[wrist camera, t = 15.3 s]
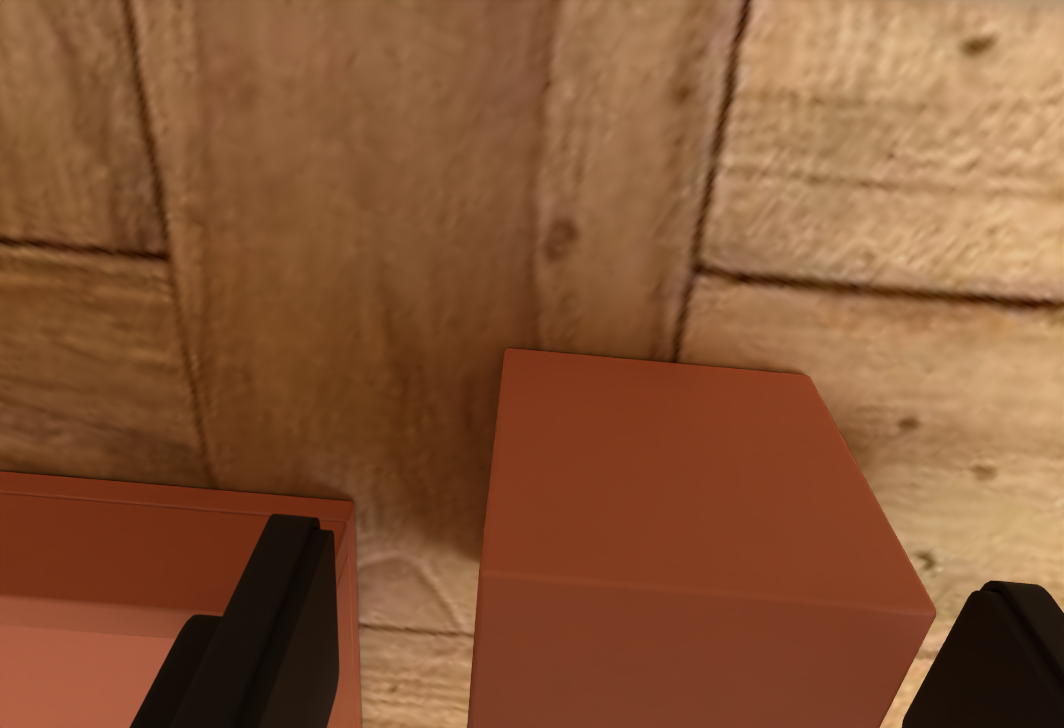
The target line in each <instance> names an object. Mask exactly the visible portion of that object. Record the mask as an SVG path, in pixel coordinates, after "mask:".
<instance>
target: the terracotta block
mask: <svg viewBox="0 0 1064 728" xmlns="http://www.w3.org/2000/svg"><path fill="white" fill-rule="evenodd" d="M935 617H936V609H935V606H934V604H933V603H932V601H931V599H930V597H929V595H928V593H927V592H926V590H925V588H924V586H923V584H922V582H921V580H920V579H919V577H918V575H917V573H916V571H915V569H914V568H913V566H912V564H911V562H910V560H909V558H908V557H907V555H906V553H905V551H904V549H903V547H902V546H901V544H900V542H899V540H898V538H897V536H896V535H895V533H894V531H893V529H892V527H891V525H890V524H889V522H888V520H887V518H886V516H885V514H884V512H883V511H882V509H881V507H880V505H879V503H878V501H877V500H876V498H875V496H874V494H873V492H872V490H871V489H870V487H869V485H868V483H867V481H866V479H865V478H864V476H863V474H862V472H861V470H860V468H859V467H858V465H857V463H856V461H855V459H854V457H853V455H852V454H851V452H850V450H849V448H848V446H847V444H846V443H845V441H844V439H843V437H842V435H841V433H840V432H839V430H838V428H837V426H836V424H835V422H834V421H833V419H832V417H831V415H830V413H829V411H828V410H827V408H826V406H825V404H824V402H823V400H822V399H821V397H820V395H819V393H818V391H817V389H816V387H815V386H814V384H813V382H812V380H811V378H810V377H809V376H806V375H800V374H789V373H778V372H767V371H756V370H745V369H734V368H723V367H712V366H701V365H690V364H679V363H668V362H657V361H646V360H635V359H624V358H613V357H602V356H591V355H580V354H569V353H558V352H547V351H537V350H526V349H515V348H508V349H506V351H505V352H504V359H503V367H502V376H501V385H500V394H499V403H498V411H497V420H496V429H495V438H494V446H493V455H492V464H491V473H490V482H489V490H488V499H487V508H486V517H485V525H484V534H483V543H482V552H481V560H480V569H479V580H478V593H477V606H476V619H475V632H474V645H473V658H472V672H471V685H470V698H469V711H468V724H467V728H879V727H880V725H881V723H882V721H883V719H884V717H885V715H886V713H887V711H888V710H889V708H890V706H891V704H892V702H893V700H894V698H895V696H896V694H897V692H898V690H899V688H900V686H901V684H902V682H903V680H904V678H905V676H906V674H907V672H908V670H909V668H910V666H911V664H912V662H913V660H914V658H915V656H916V654H917V652H918V650H919V648H920V646H921V644H922V642H923V640H924V638H925V636H926V634H927V633H928V631H929V629H930V627H931V625H932V623H933V621H934V619H935Z"/></svg>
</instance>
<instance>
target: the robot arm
mask: <svg viewBox="0 0 1064 728" xmlns="http://www.w3.org/2000/svg"><path fill="white" fill-rule="evenodd" d="M338 681H339V641H338V616H337V591H336V565H335V540H334V532H333V531H332V530H322V529H321V528H320V521H319V519H318V518H317V517H308V516H297V515H286V514H275V513H274V514H272V515H271V516H270V518H269V519H268V521H267V523H266V525H265V527H264V529H263V531H262V533H261V536H260V538H259V540H258V542H257V544H256V546H255V548H254V550H253V552H252V555H251V557H250V559H249V561H248V563H247V565H246V567H245V569H244V571H243V574H242V576H241V578H240V580H239V582H238V584H237V586H236V588H235V590H234V593H233V595H232V597H231V599H230V601H229V603H228V605H227V607H226V609H225V612H224V614H223V616H213V615H202V614H197V615H193V616H192V617H191V618H190V619H188V620H187V621H186V623H185V624H184V626H183V627H182V629H181V631H180V632H179V634H178V636H177V638H176V640H175V642H174V643H173V645H172V647H171V649H170V651H169V653H168V655H167V657H166V659H165V661H164V663H163V664H162V666H161V668H160V670H159V672H158V674H157V676H156V678H155V680H154V682H153V684H152V686H151V687H150V689H149V691H148V693H147V695H146V697H145V699H144V701H143V703H142V705H141V707H140V708H139V710H138V712H137V714H136V716H135V718H134V720H133V722H132V724H131V726H130V728H327V725H328V722H329V718H330V715H331V711H332V708H333V704H334V701H335V697H336V692H337V687H338ZM902 728H1064V613H1063V611H1062V610H1061V609H1060V607H1059V606H1058V605H1057V603H1056V602H1055V600H1054V599H1053V598H1052V596H1051V595H1050V594H1049V593H1048V592H1047V591H1046V590H1045V589H1044V588H1043V587H1041V586H1039V585H1036V584H1025V583H1015V582H1004V581H989V582H987V583H985V584H984V586H983V587H982V588H981V589H980V591H974V592H972V593H971V595H970V596H969V597H968V599H967V601H966V603H965V605H964V607H963V608H962V610H961V612H960V614H959V616H958V618H957V620H956V621H955V623H954V625H953V627H952V629H951V631H950V633H949V634H948V636H947V638H946V640H945V642H944V644H943V646H942V648H941V649H940V651H939V653H938V655H937V657H936V659H935V661H934V662H933V664H932V666H931V668H930V670H929V672H928V674H927V676H926V677H925V679H924V681H923V683H922V685H921V687H920V689H919V690H918V692H917V694H916V696H915V698H914V700H913V702H912V704H911V705H910V707H909V709H908V711H907V713H906V715H905V717H904V719H903V723H902Z"/></svg>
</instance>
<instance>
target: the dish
mask: <svg viewBox="0 0 1064 728" xmlns="http://www.w3.org/2000/svg"><path fill="white" fill-rule="evenodd" d="M274 513H275V514H286V515H297V516H308V517H317V518H318V519H319V521H320V528H321V529H322V530H332V531H333V532H334V540H335V565H336V591H337V616H338V641H339V681H338V687H337V692H336V697H335V701H334V704H333V708H332V711H331V715H330V718H329V722H328V725H327V728H362V714H361V683H360V653H359V623H358V593H357V563H356V533H355V505H354V502H352V501H341V500H330V499H318V498H307V497H295V496H283V495H272V494H260V493H248V492H237V491H225V490H213V489H202V488H190V487H179V486H167V485H155V484H144V483H132V482H120V481H109V480H97V479H85V478H74V477H62V476H51V475H39V474H27V473H16V472H4V471H0V728H130V726H131V724H132V722H133V720H134V718H135V716H136V714H137V712H138V710H139V708H140V707H141V705H142V703H143V701H144V699H145V697H146V695H147V693H148V691H149V689H150V687H151V686H152V684H153V682H154V680H155V678H156V676H157V674H158V672H159V670H160V668H161V666H162V664H163V663H164V661H165V659H166V657H167V655H168V653H169V651H170V649H171V647H172V645H173V643H174V642H175V640H176V638H177V636H178V634H179V632H180V631H181V629H182V627H183V626H184V624H185V623H186V621H187V620H188V619H190V618H191V617H192V616H193V615H197V614H202V615H213V616H223V614H224V612H225V609H226V607H227V605H228V603H229V601H230V599H231V597H232V595H233V593H234V590H235V588H236V586H237V584H238V582H239V580H240V578H241V576H242V574H243V571H244V569H245V567H246V565H247V563H248V561H249V559H250V557H251V555H252V552H253V550H254V548H255V546H256V544H257V542H258V540H259V538H260V536H261V533H262V531H263V529H264V527H265V525H266V523H267V521H268V519H269V518H270V516H271V515H272V514H274Z"/></svg>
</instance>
